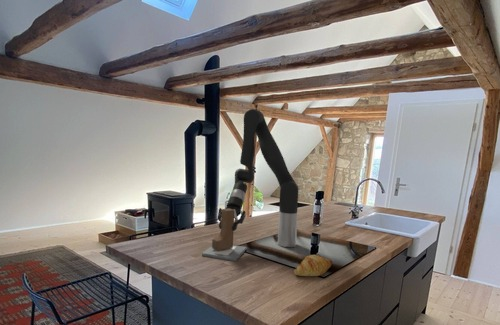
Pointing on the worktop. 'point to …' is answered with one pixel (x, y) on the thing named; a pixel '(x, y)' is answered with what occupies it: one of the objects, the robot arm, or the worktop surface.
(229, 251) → the socket board
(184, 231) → the worktop surface
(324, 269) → the croissant
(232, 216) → the wooden block
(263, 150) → the robot arm
